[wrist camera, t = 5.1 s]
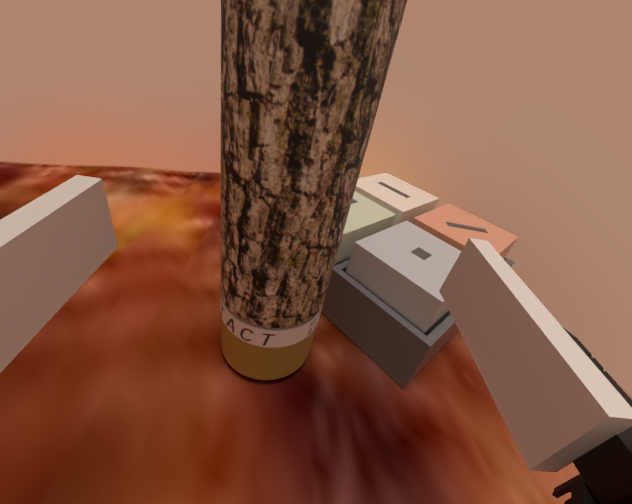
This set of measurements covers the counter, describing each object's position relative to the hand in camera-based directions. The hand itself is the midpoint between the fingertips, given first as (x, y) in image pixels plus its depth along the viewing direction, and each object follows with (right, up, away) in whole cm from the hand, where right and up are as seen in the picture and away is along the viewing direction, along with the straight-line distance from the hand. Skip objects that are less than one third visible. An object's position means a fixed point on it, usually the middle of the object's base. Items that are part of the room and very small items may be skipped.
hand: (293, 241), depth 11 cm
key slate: (+9, -3, +14) cm, 16 cm away
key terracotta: (+15, 0, +19) cm, 24 cm away
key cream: (+9, +4, +24) cm, 26 cm away
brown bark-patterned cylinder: (-3, -8, +12) cm, 15 cm away
